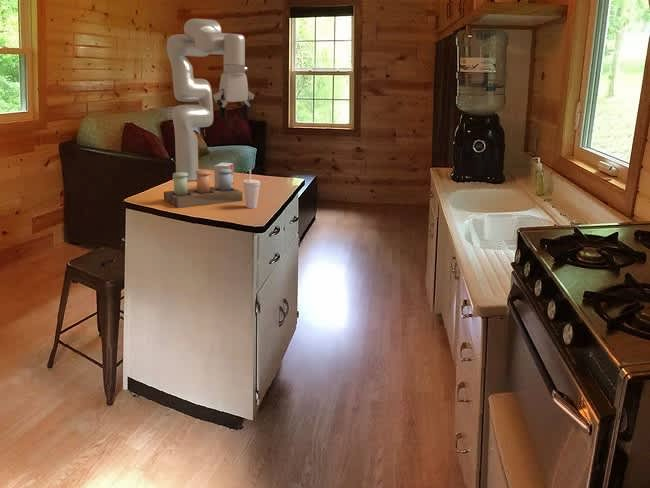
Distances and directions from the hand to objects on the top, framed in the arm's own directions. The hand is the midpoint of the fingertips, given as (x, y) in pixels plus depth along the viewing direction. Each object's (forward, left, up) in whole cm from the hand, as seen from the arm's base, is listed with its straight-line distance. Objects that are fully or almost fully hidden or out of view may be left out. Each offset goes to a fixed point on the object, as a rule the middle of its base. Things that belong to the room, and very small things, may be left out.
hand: (234, 117), depth 231 cm
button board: (-3, -11, -31) cm, 33 cm away
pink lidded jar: (-3, -11, -28) cm, 30 cm away
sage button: (-3, -20, -28) cm, 35 cm away
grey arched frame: (-17, +5, -31) cm, 36 cm away
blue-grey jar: (-3, -2, -28) cm, 28 cm away
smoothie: (+14, 0, -31) cm, 34 cm away
